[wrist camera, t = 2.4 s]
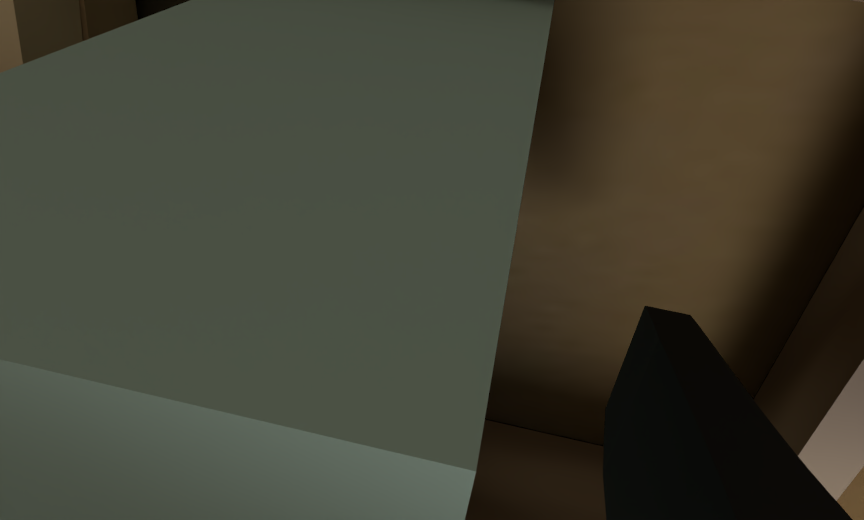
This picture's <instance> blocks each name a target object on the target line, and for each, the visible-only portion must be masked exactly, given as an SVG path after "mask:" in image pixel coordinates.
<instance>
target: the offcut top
mask: <svg viewBox="0 0 864 520" xmlns="http://www.w3.org/2000/svg"><path fill="white" fill-rule="evenodd" d="M82 41H83V39H82V28H81V18H80V8H79V0H0V73H1V72H4V71H6V70H9V69H12V68H14V67H17V66H20V65H22V64H25V63H27V62H30V61H33V60H35V59H38V58H40V57H43V56H46V55H48V54H51V53H54V52H56V51H59V50H61V49H64V48H67V47H69V46H72V45H74V44H77V43H80V42H82Z"/></svg>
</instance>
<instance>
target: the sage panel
mask: <svg viewBox="0 0 864 520" xmlns="http://www.w3.org/2000/svg"><path fill="white" fill-rule="evenodd" d="M553 6H554V0H190V1H187V2H184V3H182V4H179V5H176V6H174V7H171V8H169V9H166V10H163V11H161V12H158V13H156V14H153V15H150V16H148V17H145V18H142V19H140V20H137V21H135V22H132V23H129V24H127V25H124V26H122V27H119V28H116V29H114V30H111V31H108V32H106V33H103V34H101V35H98V36H95V37H93V38H90V39H88V40H85V41H82V42H80V43H77V44H74V45H72V46H69V47H67V48H64V49H61V50H59V51H56V52H54V53H51V54H48V55H46V56H43V57H40V58H38V59H35V60H33V61H30V62H27V63H25V64H22V65H20V66H17V67H14V68H12V69H9V70H6V71H4V72H1V73H0V520H465V517H466V513H467V508H468V504H469V500H470V495H471V491H472V487H473V483H474V478H475V474H476V469H477V463H478V457H479V451H480V445H481V439H482V433H483V427H484V421H485V415H486V409H487V403H488V397H489V391H490V385H491V379H492V373H493V367H494V361H495V355H496V349H497V343H498V337H499V331H500V325H501V319H502V313H503V307H504V301H505V295H506V289H507V283H508V277H509V271H510V265H511V259H512V253H513V247H514V241H515V235H516V228H517V222H518V216H519V210H520V204H521V198H522V192H523V186H524V180H525V174H526V168H527V162H528V156H529V150H530V144H531V138H532V132H533V126H534V120H535V114H536V108H537V102H538V96H539V90H540V84H541V78H542V72H543V66H544V60H545V54H546V48H547V42H548V36H549V30H550V24H551V18H552V12H553Z"/></svg>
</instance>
